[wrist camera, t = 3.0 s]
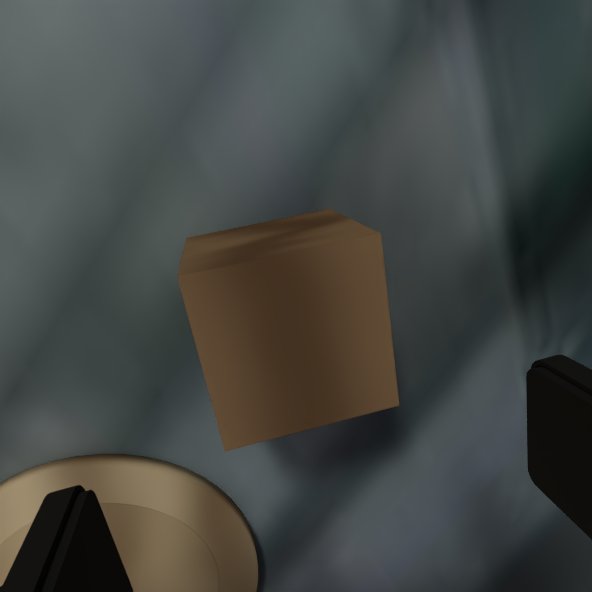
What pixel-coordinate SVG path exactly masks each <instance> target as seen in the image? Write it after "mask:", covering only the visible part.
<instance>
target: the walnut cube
mask: <svg viewBox="0 0 592 592" xmlns="http://www.w3.org/2000/svg"><path fill="white" fill-rule="evenodd" d="M177 278H178V281H179V285H180V289H181V292H182V296H183V300H184V303H185V307H186V311H187V314H188V318H189V322H190V325H191V329H192V333H193V336H194V340H195V343H196V347H197V351H198V354H199V358H200V362H201V365H202V369H203V373H204V376H205V380H206V384H207V387H208V391H209V395H210V398H211V402H212V406H213V409H214V413H215V417H216V420H217V424H218V428H219V431H220V435H221V439H222V442H223V446H224V450H225V451H228V450H232V449H236V448H240V447H244V446H247V445H251V444H255V443H259V442H263V441H266V440H270V439H274V438H278V437H282V436H285V435H289V434H293V433H297V432H301V431H304V430H308V429H312V428H316V427H319V426H323V425H327V424H331V423H335V422H338V421H342V420H346V419H350V418H354V417H357V416H361V415H365V414H369V413H373V412H376V411H380V410H384V409H388V408H392V407H395V406H399V398H398V389H397V379H396V370H395V361H394V351H393V342H392V333H391V323H390V314H389V305H388V295H387V286H386V277H385V267H384V258H383V249H382V239H381V233H379V232H377V231H375V230H373V229H371V228H368V227H366V226H364V225H362V224H360V223H358V222H356V221H354V220H352V219H350V218H348V217H346V216H343V215H341V214H339V213H337V212H335V211H333V210H331V209H327V210H322V211H317V212H312V213H307V214H302V215H297V216H292V217H287V218H283V219H278V220H273V221H268V222H263V223H258V224H253V225H248V226H243V227H238V228H234V229H229V230H224V231H219V232H214V233H209V234H204V235H199V236H194V237H189V238H187V239H186V243H185V247H184V251H183V256H182V260H181V264H180V268H179V272H178V276H177Z"/></svg>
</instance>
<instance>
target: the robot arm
mask: <svg viewBox="0 0 592 592" xmlns="http://www.w3.org/2000/svg"><path fill="white" fill-rule="evenodd" d="M526 380H527V447H528V472H529V475H530V477H531V479H532V481H533V482H534V484H535V485H536V486H537V487H538V488H539V489H540V490H541V491H542V492H543V493H544V494H545V495H546V496H547V497H548V498H549V499H550V500H551V501H552V502H553V503H554V504H555V505H556V506H558V507H559V508H560V509H561V510H562V511H563V512H564V513H565V514H566V515H567V516H568V517H569V518H570V519H571V520H572V521H573V522H574V523H575V524H576V525H577V526H578V527H579V528H580V529H581V530H582V531H583V532H584V533H585V534H587V535H588V536H589V537H590V538H591V539H592V370H591V369H589V368H587V367H585V366H583V365H581V364H580V363H578V362H576V361H574V360H572V359H570V358H568V357H566V356H564V355H555V356H552V357H548V358H544V359H541V360H537V361H535V362H534V363H533V364H532V366H531V369H530V370H529V371H528V372H527V376H526ZM0 592H134V591H133V588H132V586H131V583H130V580H129V578H128V575H127V573H126V570H125V568H124V565H123V563H122V560H121V557H120V555H119V552H118V550H117V547H116V545H115V542H114V539H113V537H112V534H111V532H110V529H109V527H108V524H107V522H106V519H105V516H104V514H103V511H102V509H101V506H100V504H99V501H98V499H97V496H96V494H95V492H94V491H93V490H87V491H85V489H84V488H83V487H82V486H81V485H76V486H73V487H69V488H65V489H62V490H58V491H54V492H51V493H48V494H47V495H46V496H45V498H44V500H43V502H42V504H41V506H40V508H39V510H38V512H37V514H36V516H35V518H34V521H33V523H32V525H31V527H30V529H29V531H28V533H27V535H26V537H25V539H24V541H23V544H22V546H21V548H20V550H19V552H18V554H17V556H16V558H15V560H14V562H13V564H12V567H11V569H10V571H9V573H8V575H7V577H6V579H5V581H4V583H3V585H2V586H1V587H0Z"/></svg>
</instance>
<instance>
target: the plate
mask: <svg viewBox="0 0 592 592" xmlns="http://www.w3.org/2000/svg"><path fill="white" fill-rule="evenodd" d="M76 485H81V486H82V487H83V488H84V489H85V491H87V490H93V491H94V492H95V494H96V496H97V499H98V501H99V504H100V506H101V509H102V511H103V514H104V516H105V519H106V522H107V524H108V527H109V529H110V532H111V534H112V537H113V539H114V542H115V545H116V547H117V550H118V552H119V555H120V557H121V560H122V563H123V565H124V568H125V570H126V573H127V575H128V578H129V580H130V583H131V586H132V588H133V591H134V592H256V590H257V584H258V562H257V553H256V548H255V542H254V538H253V535H252V532H251V529H250V527H249V524H248V522H247V521H246V519H245V517H244V515H243V514H242V512H241V511H240V509H239V508H238V507H237V506H236V504H235V503H234V502H233V501H232V499H231V498H230V497H228V496H227V495H226V494H225V493H224V492H223V491H222V490H221V489H220V488H219V487H217V486H216V485H214V484H213V483H211V482H210V481H208V480H207V479H205V478H204V477H202V476H200V475H198V474H196V473H194V472H192V471H190V470H188V469H186V468H183V467H180V466H178V465H175V464H172V463H169V462H166V461H162V460H157V459H153V458H149V457H143V456H134V455H126V454H96V455H85V456H76V457H71V458H66V459H61V460H56V461H52V462H49V463H46V464H43V465H40V466H36V467H33V468H31V469H28V470H26V471H24V472H21V473H19V474H17V475H15V476H12V477H10V478H9V479H7V480H5V481H4V482H2V483H0V587H1V586H2V585H3V583H4V581H5V579H6V577H7V575H8V573H9V571H10V569H11V567H12V564H13V562H14V560H15V558H16V556H17V554H18V552H19V550H20V548H21V546H22V544H23V541H24V539H25V537H26V535H27V533H28V531H29V529H30V527H31V525H32V523H33V521H34V518H35V516H36V514H37V512H38V510H39V508H40V506H41V504H42V502H43V500H44V498H45V496H46V495H47V494H48V493H51V492H54V491H58V490H62V489H65V488H69V487H73V486H76Z"/></svg>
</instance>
